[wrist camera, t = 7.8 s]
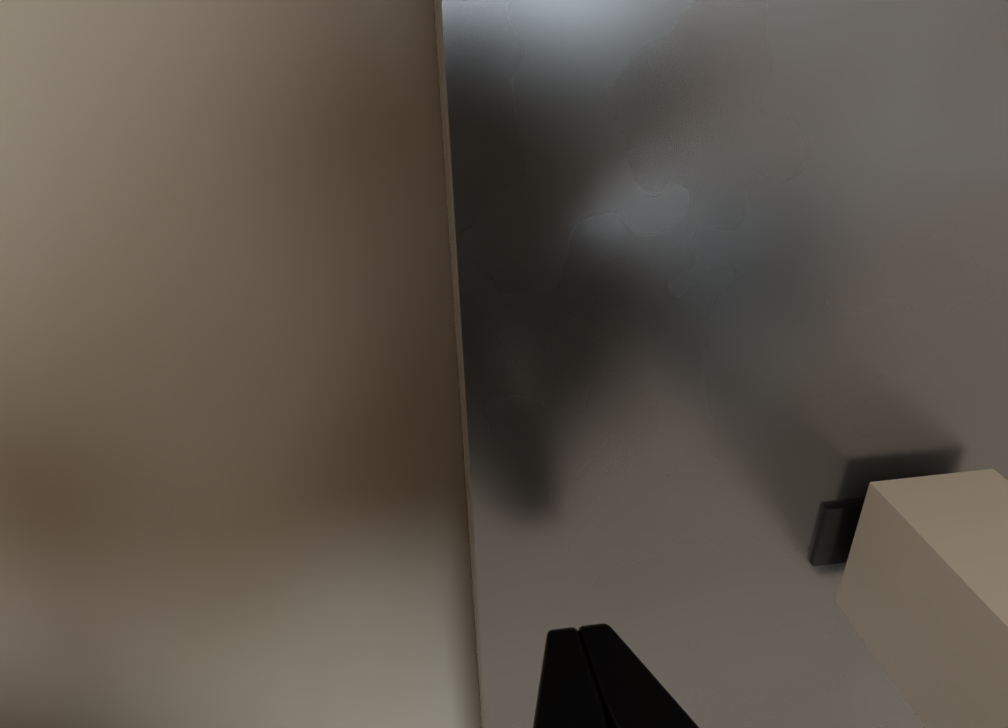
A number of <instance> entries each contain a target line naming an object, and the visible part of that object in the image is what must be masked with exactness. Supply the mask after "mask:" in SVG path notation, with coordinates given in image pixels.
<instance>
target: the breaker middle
mask: <svg viewBox="0 0 1008 728" xmlns="http://www.w3.org/2000/svg"><path fill="white" fill-rule="evenodd" d="M836 603H837V604H838V606H839V607H840V608H841V610H842V611H843V613H844V614H845V616H846V617H847V618H848V620H849V621H850V623H851V624H852V625H853V627H854V628H855V630H856V631H857V632H858V634H859V635H860V637H861V638H862V640H863V641H864V642H865V644H866V645H867V647H868V648H869V649H870V651H871V652H872V654H873V655H874V656H875V658H876V659H877V661H878V662H879V664H880V665H881V666H882V668H883V669H884V671H885V672H886V673H887V675H888V676H889V678H890V679H891V680H892V682H893V683H894V685H895V686H896V688H897V689H898V690H899V692H900V693H901V695H902V696H903V697H904V699H905V700H906V702H907V703H908V704H909V706H910V707H911V709H912V710H913V712H914V713H915V714H916V716H917V717H918V719H919V720H920V721H921V723H922V724H923V726H924V727H925V728H1008V480H1007V479H1005V478H1004V477H1003V476H1002V475H1000V474H999V473H998V472H997V471H996V470H994V469H986V470H976V471H967V472H958V473H949V474H939V475H930V476H921V477H912V478H902V479H893V480H884V481H875V482H870V483H869V487H868V490H867V494H866V497H865V501H864V504H863V508H862V511H861V514H860V518H859V521H858V525H857V528H856V532H855V535H854V539H853V542H852V545H851V549H850V552H849V556H848V559H847V563H846V566H845V570H844V573H843V576H842V580H841V583H840V587H839V590H838V594H837V597H836Z"/></svg>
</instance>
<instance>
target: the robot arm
mask: <svg viewBox="0 0 1008 728" xmlns="http://www.w3.org/2000/svg"><path fill="white" fill-rule="evenodd" d="M533 728H699V727H698V726H697V724H696V723H695V722H694V721H693V720H692V719H691V718H690V716H689V715H688V714H687V713H686V712H685V711H684V710H683V708H682V707H681V706H680V705H679V704H678V703H677V702H676V700H675V699H674V698H673V697H672V696H671V695H670V694H669V692H668V691H667V690H666V689H665V688H664V687H663V686H662V684H661V683H660V682H659V681H658V680H657V679H656V678H655V676H654V675H653V674H652V673H651V672H650V671H649V670H648V668H647V667H646V666H645V665H644V664H643V663H642V662H641V660H640V659H639V658H638V657H637V656H636V655H635V654H634V652H633V651H632V650H631V649H630V648H629V647H628V646H627V644H626V643H625V642H624V641H623V640H622V639H621V638H620V636H619V635H618V634H617V633H616V632H615V631H614V630H613V629H612V628H611V626H609V625H607V624H605V623H600V624H592V625H584V626H581V627H580V628H579V629H578V631H577V629H576V628H574V627H569V628H561V629H553V630H550V631H548V633H547V636H546V642H545V649H544V655H543V662H542V669H541V675H540V682H539V689H538V695H537V702H536V709H535V715H534V722H533Z"/></svg>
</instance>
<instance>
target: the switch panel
mask: <svg viewBox="0 0 1008 728" xmlns="http://www.w3.org/2000/svg"><path fill="white" fill-rule="evenodd" d="M434 15H435V30H436V45H437V60H438V75H439V90H440V105H441V120H442V135H443V150H444V165H445V181H446V196H447V211H448V226H449V241H450V256H451V271H452V286H453V301H454V316H455V331H456V346H457V361H458V376H459V392H460V407H461V422H462V437H463V452H464V467H465V482H466V497H467V512H468V527H469V542H470V557H471V572H472V587H473V603H474V618H475V633H476V648H477V663H478V678H479V693H480V708H481V723H482V728H533V722H534V715H535V709H536V702H537V695H538V689H539V682H540V675H541V669H542V662H543V655H544V649H545V642H546V636H547V633H548V631H550V630H553V629H561V628H569V627H574V628H576V629H577V631H578V629H579V628H580V627H581V626H584V625H592V624H600V623H605V624H607V625H609V626H611V628H612V629H613V630H614V631H615V632H616V633H617V634H618V635H619V636H620V638H621V639H622V640H623V641H624V642H625V643H626V644H627V646H628V647H629V648H630V649H631V650H632V651H633V652H634V654H635V655H636V656H637V657H638V658H639V659H640V660H641V662H642V663H643V664H644V665H645V666H646V667H647V668H648V670H649V671H650V672H651V673H652V674H653V675H654V676H655V678H656V679H657V680H658V681H659V682H660V683H661V684H662V686H663V687H664V688H665V689H666V690H667V691H668V692H669V694H670V695H671V696H672V697H673V698H674V699H675V700H676V702H677V703H678V704H679V705H680V706H681V707H682V708H683V710H684V711H685V712H686V713H687V714H688V715H689V716H690V718H691V719H692V720H693V721H694V722H695V723H696V724H697V726H698V727H699V728H925V727H924V726H923V724H922V723H921V721H920V720H919V719H918V717H917V716H916V714H915V713H914V712H913V710H912V709H911V707H910V706H909V704H908V703H907V702H906V700H905V699H904V697H903V696H902V695H901V693H900V692H899V690H898V689H897V688H896V686H895V685H894V683H893V682H892V680H891V679H890V678H889V676H888V675H887V673H886V672H885V671H884V669H883V668H882V666H881V665H880V664H879V662H878V661H877V659H876V658H875V656H874V655H873V654H872V652H871V651H870V649H869V648H868V647H867V645H866V644H865V642H864V641H863V640H862V638H861V637H860V635H859V634H858V632H857V631H856V630H855V628H854V627H853V625H852V624H851V623H850V621H849V620H848V618H847V617H846V616H845V614H844V613H843V611H842V610H841V608H840V607H839V606H838V604H837V603H836V597H837V594H838V590H839V587H840V583H841V580H842V576H843V573H844V570H845V566H846V563H847V559H848V556H849V552H850V549H851V545H852V542H853V539H854V535H855V532H856V528H857V525H858V521H859V518H860V514H861V511H862V508H863V504H864V501H865V497H866V494H867V490H868V487H869V483H870V482H875V481H884V480H893V479H902V478H912V477H921V476H930V475H939V474H949V473H958V472H967V471H976V470H986V469H994V470H996V471H997V472H998V473H999V474H1000V475H1002V476H1003V477H1004V478H1005V479H1007V480H1008V0H434Z"/></svg>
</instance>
